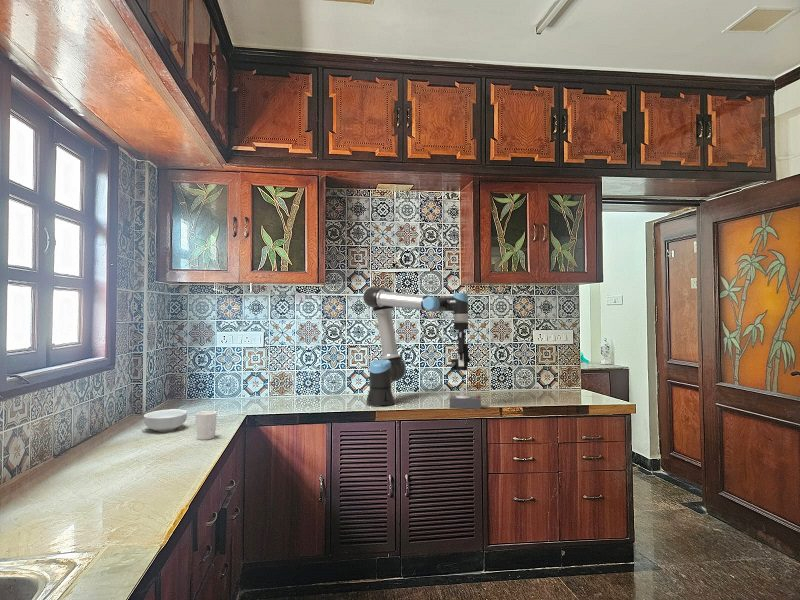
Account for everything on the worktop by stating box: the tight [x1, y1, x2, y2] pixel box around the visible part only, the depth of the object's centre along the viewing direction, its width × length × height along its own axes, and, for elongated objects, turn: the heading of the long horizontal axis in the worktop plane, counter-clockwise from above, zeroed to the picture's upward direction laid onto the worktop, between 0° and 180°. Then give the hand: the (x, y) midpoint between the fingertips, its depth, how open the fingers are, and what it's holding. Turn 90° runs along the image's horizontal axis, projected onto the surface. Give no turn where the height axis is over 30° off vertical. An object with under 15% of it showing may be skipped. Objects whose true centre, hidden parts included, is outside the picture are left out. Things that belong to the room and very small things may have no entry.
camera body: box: [449, 394, 482, 410], centre depth 260 cm, size 16×8×6 cm, turn 79°
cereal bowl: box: [143, 408, 188, 433], centre depth 212 cm, size 17×17×7 cm
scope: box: [450, 343, 472, 371], centre depth 261 cm, size 8×14×10 cm
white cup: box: [195, 410, 218, 441], centre depth 199 cm, size 8×8×10 cm
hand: (461, 365), depth 260 cm, fingers closed on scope, 8 cm apart
